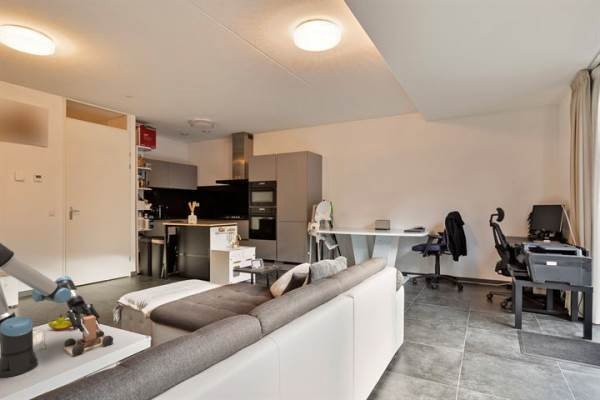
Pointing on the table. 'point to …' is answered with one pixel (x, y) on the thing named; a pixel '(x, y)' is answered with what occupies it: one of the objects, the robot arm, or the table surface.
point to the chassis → (86, 344)
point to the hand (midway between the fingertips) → (93, 333)
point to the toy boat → (60, 324)
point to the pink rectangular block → (89, 327)
